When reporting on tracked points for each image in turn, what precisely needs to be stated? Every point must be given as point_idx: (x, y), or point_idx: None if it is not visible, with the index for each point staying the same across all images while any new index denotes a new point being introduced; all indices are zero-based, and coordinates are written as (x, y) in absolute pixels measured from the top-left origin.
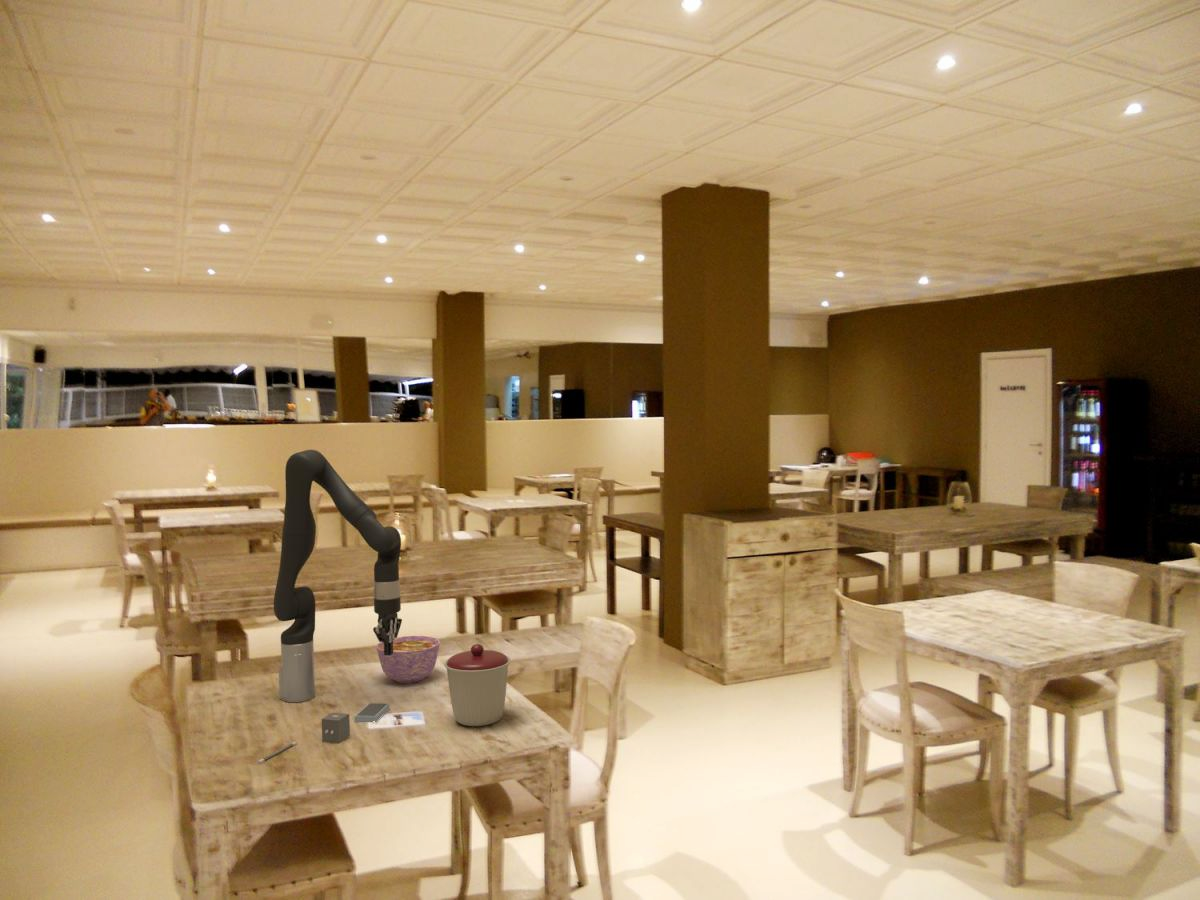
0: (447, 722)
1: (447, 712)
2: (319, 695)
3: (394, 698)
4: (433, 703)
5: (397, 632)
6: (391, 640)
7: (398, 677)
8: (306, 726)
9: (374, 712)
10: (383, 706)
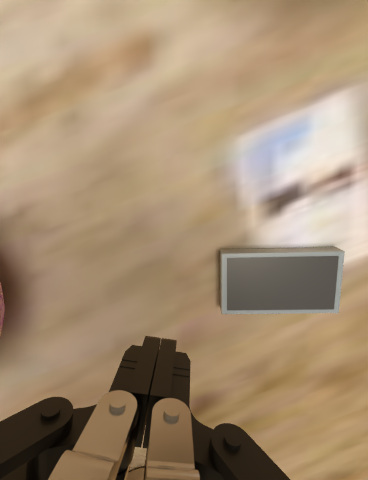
0: (339, 9)
1: (241, 46)
2: None
3: (126, 268)
4: (158, 128)
5: (8, 434)
6: (156, 409)
7: (3, 306)
8: (355, 406)
9: (310, 267)
10: (255, 260)
